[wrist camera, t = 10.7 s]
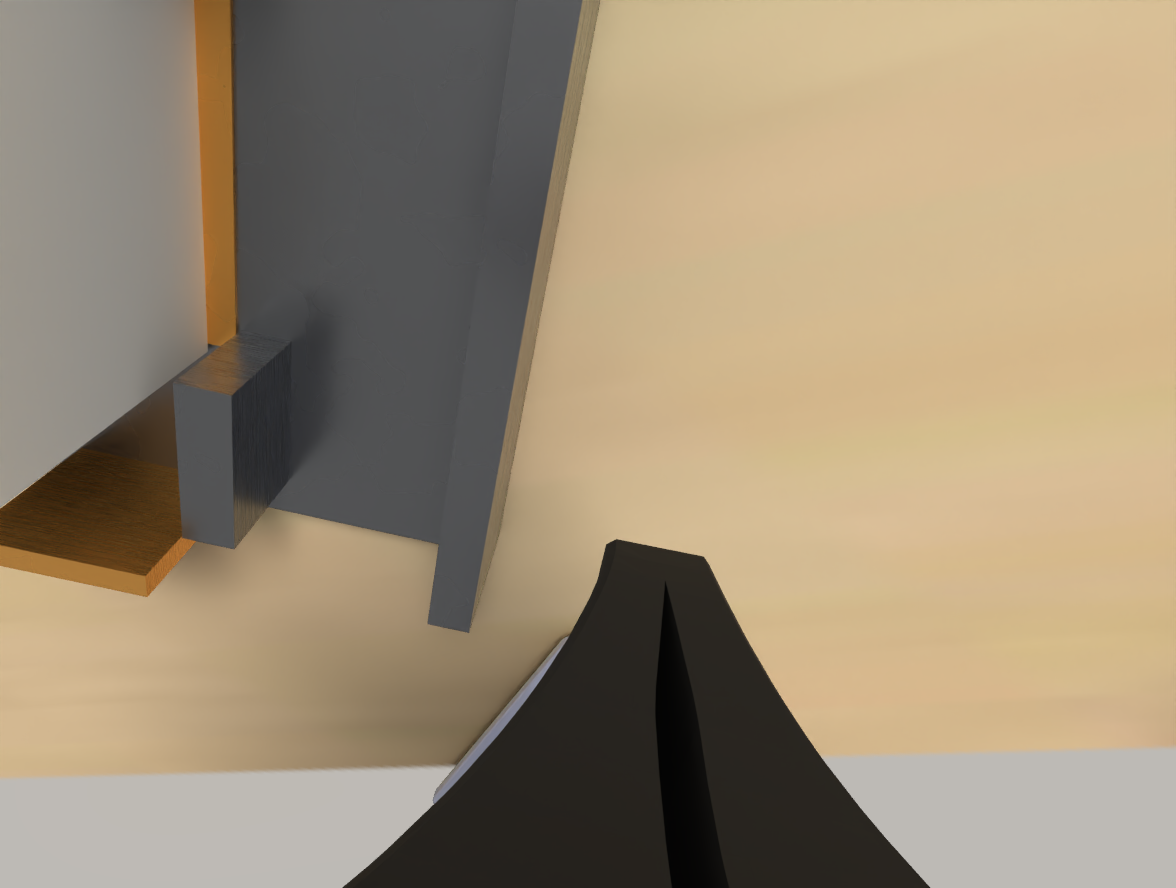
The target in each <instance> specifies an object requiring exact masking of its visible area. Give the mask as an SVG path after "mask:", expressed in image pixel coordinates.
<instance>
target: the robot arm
mask: <svg viewBox="0 0 1176 888" xmlns="http://www.w3.org/2000/svg"><path fill="white" fill-rule="evenodd" d="M433 803H434V805H433V806H432V807H431V808H430V809H429V810H428V811H427V812H426V813H424V815H422V816H421V817H420V818H419V819H418V820H417V821H416V822H415V823H414V824H413V825H412V826H411V827H410V828H409V829H408V830H407V831H406V832H405V833H404V834H403V835H402V836H401V837H400V838H398V839H397V841H395V842H394V843H393V844H392V845H391V846H390V847H389V848H388V849H387V850H386V851H385V852H384V853H383V854H381V855H380V856H379V857H378V858H377V859H376V860H375V861H373V862H372V863H371V864H370V865H369V866H368V867H367V868H366V869H364V870H363V871H362V872H361V873H359V874H358V875H357V876H356V877H355V878H353V879H352V880H351V881H350V882H349V883H347V884H346V885H345V886H344V887H343V888H930V887H929V886H928V885H927V884H926V883H925V882H924V880H923V879H922V878H921V877H920V876H919V875H918V874H917V873H916V871H915V870H914V869H913V868H912V867H911V866H910V865H909V864H908V863H907V861H906V860H905V859H904V858H903V857H902V856H901V855H900V854H899V853H898V851H897V850H896V849H895V848H894V847H893V846H892V845H891V844H890V842H888V840H887V839H886V838H885V837H884V836H883V834H882V833H881V832H880V831H879V830H878V829H877V827H876V826H875V825H874V824H873V823H872V821H871V820H870V819H869V818H868V817H867V815H866V814H865V813H864V812H863V811H862V809H861V808H860V807H859V806H858V804H857V803H856V802H855V801H854V800H853V798H852V797H851V795H850V794H849V793H848V792H847V790H846V789H845V788H844V787H843V785H842V784H841V783H840V781H839V780H838V779H837V778H836V776H835V775H834V774H833V772H832V771H831V770H830V768H829V767H828V766H827V765H826V763H825V762H824V761H823V759H822V758H821V756H820V755H819V754H818V752H817V751H816V749H815V748H814V746H813V745H812V744H811V742H810V741H809V739H808V738H807V736H806V735H805V733H804V732H803V730H802V729H801V727H800V726H799V724H798V723H797V721H796V720H795V718H794V717H793V715H792V714H791V712H790V711H789V709H788V708H787V706H786V704H785V703H784V701H783V700H782V698H781V696H780V695H779V693H778V692H777V690H776V688H775V687H774V685H773V684H772V682H771V680H770V678H769V677H768V675H767V673H766V671H765V670H764V668H763V666H762V665H761V663H760V661H759V659H758V658H757V656H756V654H755V653H754V651H753V649H752V647H751V646H750V644H749V642H748V640H747V638H746V637H745V635H744V633H743V631H742V629H741V627H740V625H739V624H738V622H737V620H736V618H735V616H734V614H733V612H732V610H731V608H730V606H729V604H728V602H727V600H726V598H725V596H724V594H723V592H722V590H721V588H720V586H719V584H718V582H717V580H716V578H715V576H714V574H713V572H712V570H711V568H710V566H709V564H708V562H707V561H706V559H705V558H704V557H703V556H697V555H692V554H687V553H682V552H677V551H672V550H667V549H662V548H657V547H652V546H647V545H642V544H637V543H632V542H627V541H622V540H617V539H616V540H614V541H612V542H610V543H608V544H606V548H605V552H604V556H603V560H602V564H601V568H600V572H599V577H598V580H597V583H596V585H595V587H594V590H593V592H592V594H591V596H590V599H589V601H588V602H587V604H586V606H585V608H584V610H583V612H582V614H581V615H580V617H579V619H578V621H577V623H576V625H575V627H574V628H573V630H572V632H571V634H570V635H569V636H568V637H565V638H564V639H562V640H561V641H560V642H559V644H558V645H557V646H556V647H555V648H554V650H553V651H552V652H551V653H550V654H549V656H548V657H547V658H546V659H545V660H544V661H543V663H542V664H541V665H540V666H539V667H538V669H537V670H536V671H535V672H534V673H533V675H532V676H531V677H530V678H529V679H528V681H527V682H526V683H525V684H524V685H523V687H522V688H521V689H520V690H519V691H518V693H517V694H516V695H515V696H514V697H513V698H512V700H511V701H510V702H509V703H508V704H507V706H506V707H505V708H504V709H503V710H502V712H501V713H500V714H499V715H498V716H497V718H496V719H495V720H494V721H493V722H492V724H491V725H490V726H489V727H488V728H487V729H486V731H485V732H484V733H483V734H482V735H481V737H480V738H479V739H478V740H477V741H476V743H475V744H474V745H473V746H472V747H471V749H470V750H469V751H468V752H467V753H466V755H465V756H464V757H463V758H462V759H461V760H460V762H459V763H458V764H457V765H456V766H455V768H454V769H453V770H452V771H451V772H450V774H449V775H448V776H447V777H446V778H445V780H444V781H443V782H442V783H441V784H440V786H439V787H438V788H437V789H436V791H435V794H434V798H433Z"/></svg>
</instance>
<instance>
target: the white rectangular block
mask: <svg viewBox="0 0 1176 888" xmlns="http://www.w3.org/2000/svg"><path fill="white" fill-rule="evenodd" d="M207 352H208V342H207V316H206V291H205V266H204V241H203V216H202V191H201V165H200V140H199V115H198V90H197V65H196V40H195V14H194V0H0V507H2V506H3V505H4V504H6V503H7V502H8V501H10V500H11V499H12V498H14V497H15V496H16V495H18V494H19V493H20V492H22V491H23V490H24V489H26V488H27V487H28V486H30V485H31V484H32V483H34V482H35V481H36V480H38V479H39V478H40V477H42V476H43V475H44V474H46V473H47V472H48V471H50V470H51V469H52V468H54V467H55V466H56V465H58V464H59V463H60V462H62V461H63V460H64V459H66V458H67V457H68V456H70V455H71V454H72V453H74V452H75V451H76V450H78V449H79V448H80V447H81V446H83V445H84V444H85V443H87V442H88V441H89V440H91V439H92V438H93V437H95V436H96V435H97V434H99V433H100V432H101V431H103V430H104V429H105V428H107V427H108V426H109V425H111V424H112V423H113V422H115V421H116V420H117V419H119V418H120V417H121V416H123V415H124V414H125V413H127V412H128V411H129V410H131V409H132V408H133V407H135V406H136V405H137V404H139V403H140V402H141V401H143V400H144V399H145V398H147V397H148V396H149V395H151V394H152V393H153V392H155V391H156V390H157V389H159V388H160V387H161V386H163V385H164V384H165V383H167V382H168V381H169V380H171V379H172V378H173V377H175V376H176V375H177V374H179V373H180V372H181V371H183V370H184V369H185V368H187V367H188V366H189V365H191V364H192V363H193V362H195V361H196V360H197V359H199V358H200V357H201V356H203V355H204V354H205V353H207Z"/></svg>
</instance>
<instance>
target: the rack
mask: <svg viewBox="0 0 1176 888" xmlns="http://www.w3.org/2000/svg"><path fill="white" fill-rule="evenodd" d="M599 4H600V0H194V14H195V40H196V65H197V90H198V115H199V140H200V165H201V191H202V216H203V241H204V266H205V291H206V316H207V342H208V352H207V353H205V354H204V355H203V356H201V357H200V358H199V359H197V360H196V361H195V362H193V363H192V364H191V365H189V366H188V367H187V368H185V369H184V370H183V371H181V372H180V373H179V374H177V375H176V376H175V377H173V378H172V379H171V380H169V381H168V382H167V383H165V384H164V385H163V386H161V387H160V388H159V389H157V390H156V391H155V392H153V393H152V394H151V395H149V396H148V397H147V398H145V399H144V400H143V401H141V402H140V403H139V404H137V405H136V406H135V407H133V408H132V409H131V410H129V411H128V412H127V413H125V414H124V415H123V416H121V417H120V418H119V419H117V420H116V421H115V422H113V423H112V424H111V425H109V426H108V427H107V428H105V429H104V430H103V431H101V432H100V433H99V434H97V435H96V436H95V437H93V438H92V439H91V440H89V441H88V442H87V443H85V444H84V445H83V446H81V447H80V448H79V449H78V450H76V451H75V452H74V453H72V454H71V455H70V456H68V457H67V458H66V459H64V460H63V461H62V463H61V464H59V465H58V466H57V467H55V468H54V469H53V470H51V471H50V472H49V473H47V474H46V475H45V476H43V477H42V478H41V479H39V480H38V481H37V482H35V483H34V484H33V485H31V486H30V487H29V488H27V489H26V490H25V491H23V492H22V493H21V494H19V495H18V496H17V497H15V498H14V499H13V500H11V501H10V502H9V503H7V504H6V505H5V506H3V507H2V508H1V509H0V566H4V567H9V568H13V569H18V570H23V571H28V572H32V573H37V574H42V575H46V576H51V577H56V578H60V579H65V580H70V581H74V582H79V583H84V584H89V585H93V586H98V587H103V588H107V589H112V590H117V591H121V592H126V593H131V594H135V595H140V596H145V597H148V596H149V594H150V593H151V592H152V591H153V590H154V589H155V588H156V586H157V585H158V584H159V583H160V582H161V581H162V580H163V578H164V577H165V576H166V575H167V574H168V573H169V572H170V570H171V569H172V568H173V567H174V566H175V565H176V564H177V562H178V561H179V560H180V559H181V558H182V557H183V556H184V554H185V553H186V552H187V551H188V550H189V549H190V548H191V546H192V545H193V544H194V543H195V542H196V541H198V542H203V543H207V544H212V545H217V546H221V547H226V548H231V549H235V548H236V547H237V545H238V544H239V543H240V542H241V540H242V539H243V538H244V537H245V535H246V534H247V533H248V532H249V530H250V529H251V528H252V526H253V525H254V524H255V523H256V521H257V520H258V519H259V518H260V516H261V515H262V514H263V513H264V511H265V510H266V509H267V508H268V507H270V508H275V509H280V510H284V511H289V512H293V513H298V514H303V515H307V516H312V517H316V518H321V519H326V520H330V521H335V522H339V523H344V524H348V525H353V526H358V527H362V528H367V529H371V530H376V531H381V532H385V533H390V534H394V535H399V536H404V537H408V538H413V539H417V540H422V541H427V542H431V543H436V544H439V547H438V554H437V561H436V568H435V575H434V582H433V589H432V596H431V603H430V610H429V617H428V624H430V625H435V626H440V627H444V628H449V629H454V630H458V631H463V632H468V633H469V631H470V628H471V625H472V621H473V618H474V615H475V612H476V608H477V605H478V602H479V599H480V595H481V592H482V589H483V585H484V582H485V579H486V576H487V572H488V569H489V566H490V563H491V559H492V556H493V553H494V550H495V546H496V543H497V540H498V536H499V532H500V527H501V522H502V517H503V511H504V506H505V501H506V496H507V490H508V485H509V480H510V474H511V469H512V464H513V459H514V453H515V448H516V443H517V437H518V432H519V427H520V422H521V416H522V411H523V406H524V400H525V395H526V390H527V385H528V379H529V374H530V369H531V363H532V358H533V353H534V348H535V342H536V337H537V332H538V326H539V321H540V316H541V311H542V305H543V300H544V295H545V290H546V284H547V279H548V274H549V268H550V263H551V258H552V253H553V247H554V242H555V237H556V231H557V226H558V221H559V216H560V210H561V205H562V200H563V194H564V189H565V184H566V179H567V173H568V168H569V163H570V157H571V152H572V147H573V142H574V136H575V131H576V126H577V120H578V115H579V110H580V105H581V99H582V94H583V89H584V83H585V78H586V73H587V68H588V62H589V57H590V52H591V47H592V41H593V36H594V31H595V25H596V20H597V15H598V10H599Z"/></svg>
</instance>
